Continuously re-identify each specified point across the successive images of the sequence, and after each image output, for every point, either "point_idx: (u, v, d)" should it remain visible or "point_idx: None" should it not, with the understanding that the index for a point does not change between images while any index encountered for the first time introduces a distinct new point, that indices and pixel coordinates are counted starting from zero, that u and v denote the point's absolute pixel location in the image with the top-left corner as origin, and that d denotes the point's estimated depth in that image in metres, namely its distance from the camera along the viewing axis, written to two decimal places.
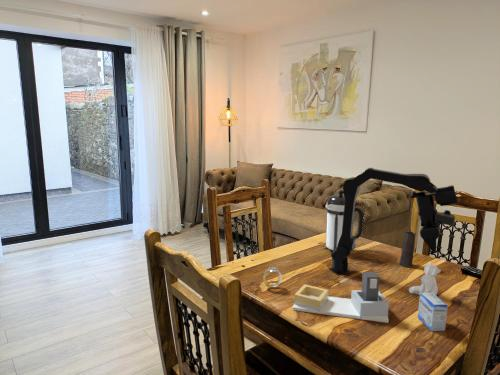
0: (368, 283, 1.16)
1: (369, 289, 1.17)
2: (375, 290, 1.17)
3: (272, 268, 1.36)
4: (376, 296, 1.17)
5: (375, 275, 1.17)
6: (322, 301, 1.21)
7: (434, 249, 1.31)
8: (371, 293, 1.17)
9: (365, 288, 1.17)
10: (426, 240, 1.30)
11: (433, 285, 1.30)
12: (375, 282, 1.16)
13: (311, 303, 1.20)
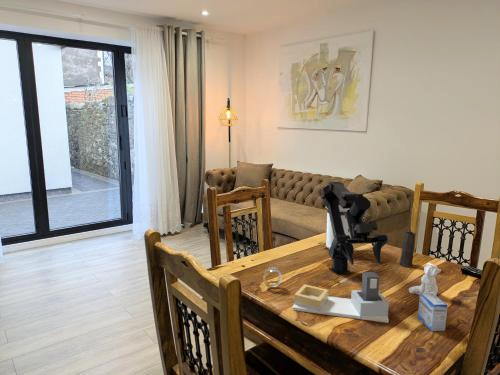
0: (368, 283, 1.16)
1: (369, 289, 1.17)
2: (375, 290, 1.17)
3: (272, 268, 1.36)
4: (376, 296, 1.17)
5: (375, 275, 1.17)
6: (322, 301, 1.21)
7: (350, 260, 1.26)
8: (371, 293, 1.17)
9: (365, 288, 1.17)
10: (343, 252, 1.29)
11: (433, 285, 1.30)
12: (375, 282, 1.16)
13: (311, 303, 1.20)
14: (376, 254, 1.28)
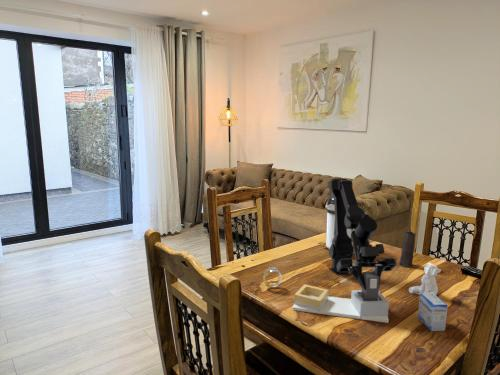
0: (368, 283, 1.16)
1: (369, 289, 1.17)
2: (375, 290, 1.17)
3: (272, 268, 1.36)
4: (376, 296, 1.17)
5: (375, 275, 1.17)
6: (322, 301, 1.21)
7: (362, 285, 1.18)
8: (371, 293, 1.17)
9: None
10: (355, 276, 1.22)
11: (433, 285, 1.30)
12: (375, 282, 1.16)
13: (311, 303, 1.20)
14: None
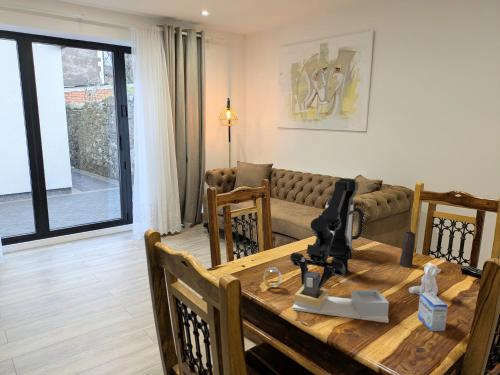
0: (306, 281, 1.23)
1: (307, 287, 1.23)
2: (312, 289, 1.22)
3: (272, 268, 1.36)
4: (313, 296, 1.22)
5: (315, 275, 1.22)
6: (322, 301, 1.21)
7: None
8: (309, 292, 1.23)
9: None
10: None
11: (433, 285, 1.30)
12: (311, 281, 1.21)
13: (311, 303, 1.20)
14: None
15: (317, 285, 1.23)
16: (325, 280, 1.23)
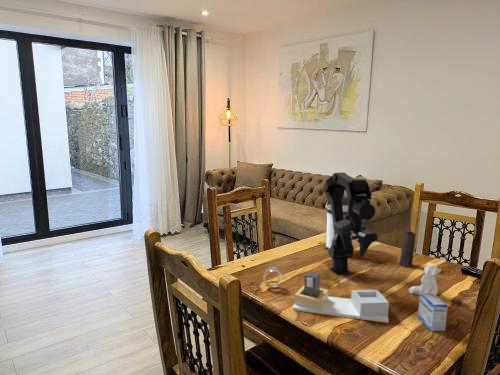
0: (306, 281, 1.23)
1: (307, 287, 1.23)
2: (312, 289, 1.22)
3: (272, 268, 1.36)
4: (313, 296, 1.22)
5: (315, 275, 1.22)
6: (322, 301, 1.21)
7: None
8: (309, 292, 1.23)
9: None
10: None
11: (433, 285, 1.30)
12: (311, 281, 1.21)
13: (311, 303, 1.20)
14: None
15: (317, 285, 1.23)
16: (365, 248, 1.32)
